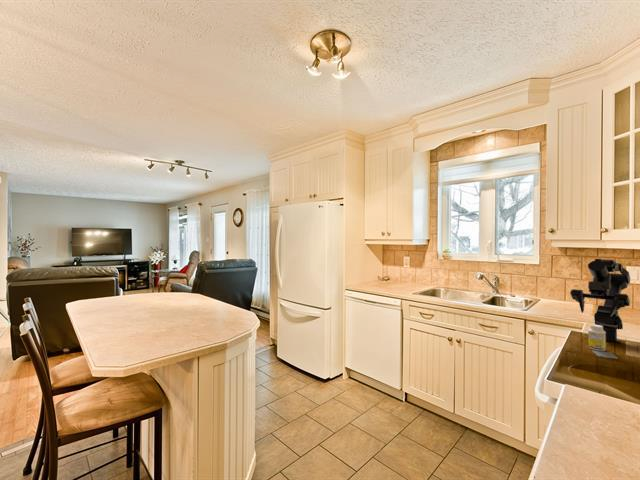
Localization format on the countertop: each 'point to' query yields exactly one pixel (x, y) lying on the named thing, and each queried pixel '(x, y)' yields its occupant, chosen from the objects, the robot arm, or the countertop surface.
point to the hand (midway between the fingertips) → (595, 314)
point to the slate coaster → (604, 354)
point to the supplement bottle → (597, 338)
